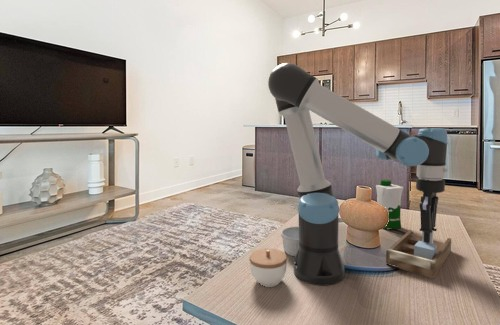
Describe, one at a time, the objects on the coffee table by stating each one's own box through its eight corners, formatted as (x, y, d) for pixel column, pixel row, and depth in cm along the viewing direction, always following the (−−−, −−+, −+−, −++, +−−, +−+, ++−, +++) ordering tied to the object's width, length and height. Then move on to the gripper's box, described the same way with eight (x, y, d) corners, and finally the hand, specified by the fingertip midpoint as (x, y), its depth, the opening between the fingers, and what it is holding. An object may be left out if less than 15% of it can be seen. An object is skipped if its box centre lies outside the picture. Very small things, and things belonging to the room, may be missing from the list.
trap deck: (386, 264, 90) (386, 249, 89) (409, 241, 107) (409, 228, 106) (433, 278, 81) (434, 262, 80) (450, 251, 98) (451, 237, 97)
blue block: (413, 257, 88) (414, 245, 88) (418, 252, 92) (418, 240, 91) (432, 262, 85) (433, 249, 84) (436, 256, 88) (436, 244, 88)
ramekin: (319, 245, 107) (319, 227, 106) (318, 261, 94) (318, 240, 93) (284, 242, 110) (284, 225, 109) (278, 257, 98) (278, 238, 97)
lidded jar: (284, 271, 88) (283, 242, 87) (290, 290, 77) (289, 258, 76) (249, 273, 88) (248, 244, 86) (251, 292, 77) (250, 260, 76)
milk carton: (389, 222, 129) (390, 178, 126) (404, 228, 120) (406, 182, 118) (372, 224, 126) (373, 180, 124) (387, 231, 118) (388, 184, 115)
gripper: (440, 182, 81) (436, 261, 83) (449, 176, 90) (445, 247, 93) (410, 180, 86) (408, 254, 89) (422, 174, 95) (419, 241, 98)
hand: (427, 250), depth 91 cm, fingers closed
